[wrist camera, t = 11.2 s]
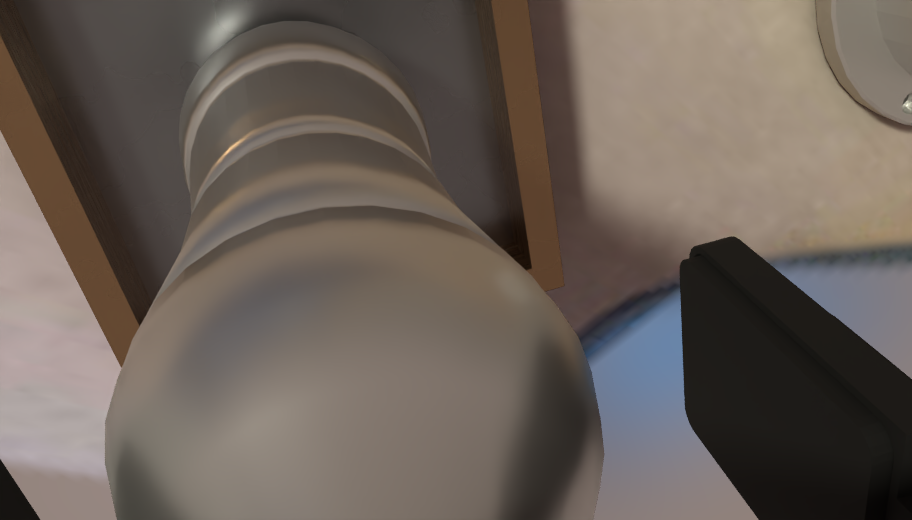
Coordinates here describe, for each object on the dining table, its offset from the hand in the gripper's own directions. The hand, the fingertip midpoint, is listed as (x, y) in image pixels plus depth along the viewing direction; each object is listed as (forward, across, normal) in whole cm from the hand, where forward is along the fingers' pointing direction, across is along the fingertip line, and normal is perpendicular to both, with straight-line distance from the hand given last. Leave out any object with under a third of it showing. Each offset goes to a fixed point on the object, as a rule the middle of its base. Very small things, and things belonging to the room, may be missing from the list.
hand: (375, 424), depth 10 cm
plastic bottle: (+14, 0, 0) cm, 15 cm away
